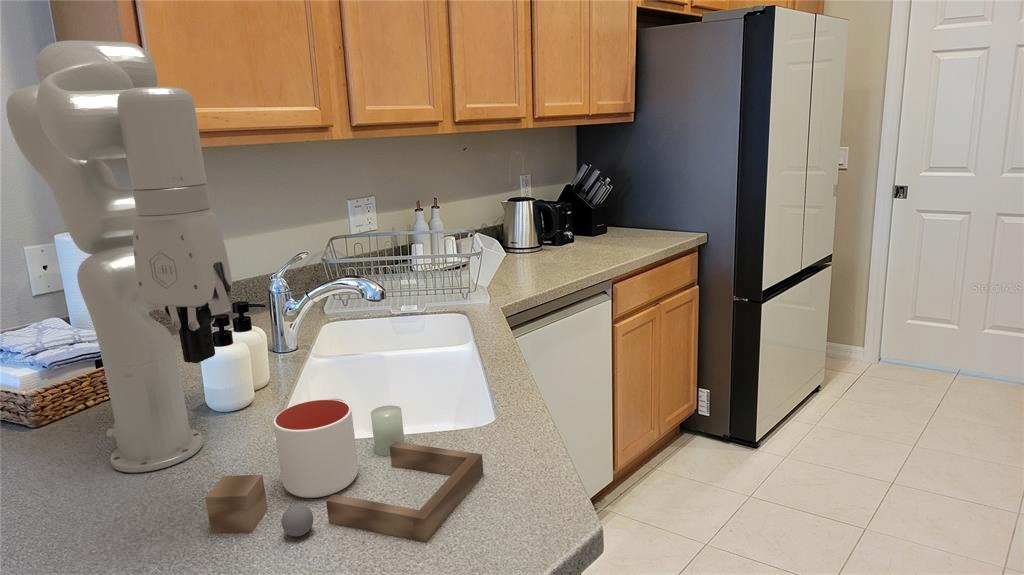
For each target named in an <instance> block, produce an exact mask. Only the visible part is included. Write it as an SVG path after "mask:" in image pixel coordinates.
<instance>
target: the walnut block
mask: <svg viewBox="0 0 1024 575" xmlns="http://www.w3.org/2000/svg"><path fill="white" fill-rule="evenodd" d="M204 499H205V505H206V512H207V516H208V523H209V528H210V533H211V535H219V534H221V535H222V534H225V535H226V534H227V535H228V534H252V533H253V532H254V531H255V529H256V528H257V526H259V524H260V522H261V521H262V519H263V518H264V516H266V513H267V512H268V502H267V495H266V490H265V483H264V476H263V474H248V475H247V474H244V475H243V474H242V475H222V477H221V478H220V479H219V480H218V481H217V483H216V484H215V485H214V486H213V487H212V488H211V489H210V490H209V492H208V493H207V494H206V495H205V497H204Z"/></svg>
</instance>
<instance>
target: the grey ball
mask: <svg viewBox="0 0 1024 575" xmlns="http://www.w3.org/2000/svg"><path fill="white" fill-rule="evenodd" d="M313 524H314V515H313V512H312V510H311V509H310V508H309V507H308V506H306V505H304V504H299V503H298V504H293V505H291V506H290V507H288V508H287V509H286V510H285V511H284V513H283V514H282V517H281V527H282V529H283V531H284V532H285V534H287V535H289V536H291V537H301V536H304V535H306V534H307V533H308V532H309V531H310V530H311V529H312V527H313Z"/></svg>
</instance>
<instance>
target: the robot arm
mask: <svg viewBox="0 0 1024 575" xmlns="http://www.w3.org/2000/svg"><path fill="white" fill-rule="evenodd" d="M35 73H36V76H37V78H38V81H39V82H40V83H39V84H32V85H29V86H28V85H27V86H23V87H22V88H19V89H17V90H15V91H13V92H12V93H11V94H10V95H9V97H8V98H7V100H6V107H5V109H6V110H5V112H6V119H7V122H8V124H9V128H10V131H11V135H12V136H13V139H14V141H15V143H16V144H17V147H18V148H19V150H20V152H21V153H22V154H23V156H24V157H25V159H26V160H27V161H28V163H29V165H31V167H32V168H33V169H34V170H35V171H36V172H37V174H38V175H40V176H41V178H42V179H43V180H44V181H45V182H46V184H47V185H48V186H49V189H50V191H51V192H52V195H53V197H54V200H55V204H56V205H57V207H58V210H59V213H60V215H61V217H62V221H63V222H64V224H65V226H66V230H67V231H68V234H69V236H70V238H71V239H72V241H73V243H74V245H75V246H76V247H77V249H78V250H80V251H81V252H83V253H85V254H88V255H89V256H88V257H86V258H85V259H83V261H81V263H80V265H79V266H78V269H77V276H76V277H77V278H76V279H77V285H78V288H79V290H80V294H81V296H82V299H83V301H84V304H85V305H86V309H87V311H88V313H89V316H90V318H91V322H92V326H93V328H94V332H95V335H96V339H97V342H98V346H99V348H98V349H99V351H100V352H99V353H100V357H101V361H102V365H103V366H102V367H103V370H104V374H105V379H106V385H107V389H108V394H109V398H110V405H111V410H112V412H113V419H114V424H113V428H108V429H107V430H106V434H105V435H106V437H107V438H110V439H115V440H116V446H117V448H115V450H113V451H112V453H111V455H110V464H111V466H112V468H114V470H117V471H118V472H123V473H124V472H125V473H144V472H145V473H146V472H151V471H157V470H161V469H164V468H168V467H171V466H174V465H176V464H179V463H181V462H184V461H186V460H188V459H189V458H191V457H192V456H194V455H196V453H198V452H199V451H200V450H201V448H202V447H203V445H204V436H203V434H202V432H200V431H198V430H197V429H193V428H190V421H189V415H188V410H187V404H186V400H185V394H184V388H183V384H182V379H181V373H180V366H179V360H178V355H177V350H176V345H175V340H174V337H173V335H172V334H171V332H170V331H169V329H168V328H167V327H165V325H163V324H162V323H160V322H158V320H156V319H154V318H153V317H152V316H150V313H151V312H152V311H155V310H158V311H161V312H164V313H166V314H167V315H168V316H169V317H170V319H171V322H172V327H173V328H174V329H176V330H178V333H179V341H180V345H181V346H180V347H181V352H182V356H183V361H184V363H189V364H190V363H191V364H199V363H201V362H203V361H206V360H208V359H210V358H212V357H214V356H215V355H216V349H215V342H214V338H213V331H212V324H214V323H215V319H216V316H218V315H221V314H223V313H226V312H229V311H231V309H232V307H231V302H230V299H229V297H230V296H231V295H232V293H233V283H232V282H233V280H232V272H231V268H230V262H229V257H228V254H227V248H226V245H225V240H224V238H223V234H222V231H221V228H220V225H219V221H218V219H217V216H216V214H215V212H212V204H211V199H210V192H209V186H208V182H207V175H206V168H205V162H204V156H203V149H202V141H201V137H200V130H199V125H198V118H197V110H196V106H195V101H194V99H193V96H192V95H191V93H190V92H189V91H188V90H186V89H184V88H181V87H175V86H158V81H159V80H158V73H157V68H156V66H155V63H154V61H153V59H152V58H151V56H150V54H149V53H148V52H147V51H146V50H145V49H144V48H142V47H141V46H140V45H138V44H136V43H133V42H130V41H129V42H128V41H105V40H104V41H103V40H102V41H101V40H61V41H57V42H52V43H49V44H47V45H46V46H45V47H43V48H42V50H41V51H40V52H39V53H38V55H37V57H36V60H35ZM125 158H126V162H127V168H128V172H129V178H130V184H131V187H124V186H119V185H118V182H117V181H116V178H115V176H114V173H113V171H112V169H111V168H110V167H109V166H108V165H107V164H106V163H105V162H104V161H102V160H114V159H125Z"/></svg>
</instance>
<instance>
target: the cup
mask: <svg viewBox="0 0 1024 575" xmlns="http://www.w3.org/2000/svg"><path fill="white" fill-rule="evenodd" d="M331 399H332V398H328V399H327V398H326V399H314V400H306V401H303V402H300V403H296V404H294V405H290V406H289V407H287V408H285V409H283V410H282V411H280V412H279V413H277V414H276V415H275V417H274V418H273V429H274V437H275V443H276V450H277V458H278V463H279V469H280V470H279V471H280V476H281V482H282V485H283V487H284V489H285V490H286V491H287V492H289V493H290V494H291V495H293V496H296V497H300V498H306V499H307V498H310V499H313V498H322V497H326V496H330V495H333V494H337V493H338V492H340V491H342V490H344V489H345V488H347V487H349V485H351V484H352V483H353V482H354V480H355V479H356V477H357V475H358V472H359V462H358V454H357V444H356V436H355V428H354V427H355V426H354V420H353V412H352V411H353V410H352V407H351V405H350V404H348V403H347V402H345V401H344V400H343V401H344V402H343V401H339V400H331Z"/></svg>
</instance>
